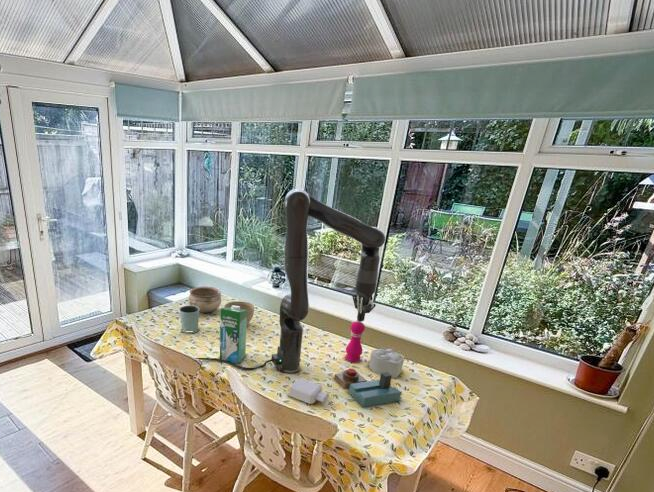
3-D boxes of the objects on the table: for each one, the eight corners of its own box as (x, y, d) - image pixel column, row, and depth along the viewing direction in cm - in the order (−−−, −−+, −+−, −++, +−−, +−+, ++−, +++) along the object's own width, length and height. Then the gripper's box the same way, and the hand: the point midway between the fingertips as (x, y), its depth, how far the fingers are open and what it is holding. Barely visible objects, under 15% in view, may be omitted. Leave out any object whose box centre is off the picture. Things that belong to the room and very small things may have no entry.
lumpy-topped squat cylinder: (395, 379, 172) (399, 361, 169) (365, 369, 179) (368, 351, 176) (403, 369, 179) (406, 352, 176) (373, 360, 187) (376, 343, 183)
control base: (363, 407, 154) (365, 396, 152) (348, 392, 162) (350, 382, 161) (399, 400, 158) (401, 390, 156) (383, 387, 166) (385, 377, 165)
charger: (325, 411, 151) (288, 396, 159) (335, 400, 158) (299, 386, 166) (326, 400, 149) (289, 386, 157) (336, 389, 156) (300, 376, 164)
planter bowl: (234, 317, 232) (235, 299, 228) (259, 324, 223) (260, 305, 219) (217, 326, 220) (218, 307, 216) (243, 334, 211) (244, 314, 207)
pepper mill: (361, 363, 184) (368, 323, 176) (345, 361, 185) (351, 321, 178) (360, 356, 191) (366, 316, 183) (343, 354, 192) (349, 315, 184)
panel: (344, 388, 165) (345, 379, 164) (334, 378, 172) (335, 370, 171) (366, 385, 168) (367, 376, 166) (355, 375, 175) (356, 367, 173)
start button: (349, 376, 167) (350, 372, 166) (345, 372, 170) (346, 369, 169) (356, 375, 168) (357, 371, 167) (352, 371, 170) (353, 368, 170)
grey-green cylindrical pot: (203, 329, 216) (203, 307, 212) (191, 335, 208) (191, 314, 204) (187, 324, 221) (187, 303, 217) (176, 331, 213) (175, 309, 209)
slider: (382, 391, 158) (385, 376, 156) (378, 387, 161) (381, 372, 158) (389, 390, 159) (391, 375, 156) (384, 386, 161) (387, 371, 159)
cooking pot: (208, 301, 254) (208, 282, 249) (231, 309, 242) (231, 290, 237) (178, 312, 237) (177, 292, 233) (200, 321, 225) (200, 300, 221)
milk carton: (245, 355, 190) (247, 305, 180) (238, 363, 182) (239, 311, 173) (227, 351, 194) (228, 301, 184) (219, 359, 186) (220, 308, 176)
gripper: (348, 275, 164) (343, 315, 171) (368, 285, 152) (361, 328, 159) (365, 274, 166) (359, 313, 173) (385, 284, 154) (378, 326, 161)
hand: (360, 320), depth 166 cm, fingers closed
